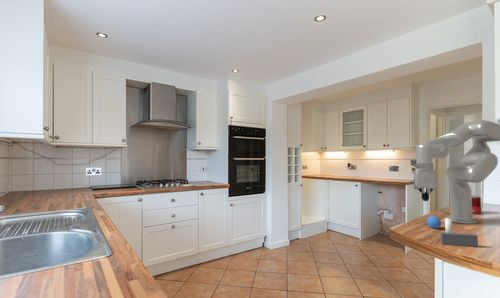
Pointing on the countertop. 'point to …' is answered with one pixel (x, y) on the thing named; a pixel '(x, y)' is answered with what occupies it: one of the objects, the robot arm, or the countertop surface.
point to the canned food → (476, 204)
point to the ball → (434, 222)
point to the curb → (459, 239)
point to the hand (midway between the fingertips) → (425, 200)
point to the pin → (448, 225)
